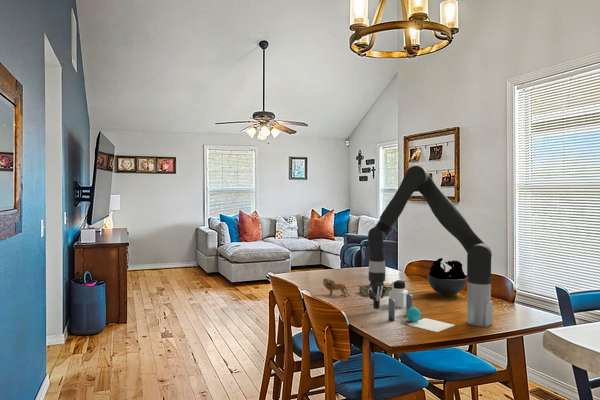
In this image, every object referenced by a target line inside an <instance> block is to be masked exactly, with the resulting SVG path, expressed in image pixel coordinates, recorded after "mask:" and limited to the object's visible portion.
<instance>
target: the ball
mask: <svg viewBox="0 0 600 400" xmlns="http://www.w3.org/2000/svg"><path fill="white" fill-rule="evenodd" d="M405 316H406V318H407V319H408V321H410V322H411V323H412V322H416V321H418V320H421V317H422V313H421V311H420V309H419V308H417V307H415V306H412V307H411V308H409V309H408V310H407V312H406V311H405Z"/></svg>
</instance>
